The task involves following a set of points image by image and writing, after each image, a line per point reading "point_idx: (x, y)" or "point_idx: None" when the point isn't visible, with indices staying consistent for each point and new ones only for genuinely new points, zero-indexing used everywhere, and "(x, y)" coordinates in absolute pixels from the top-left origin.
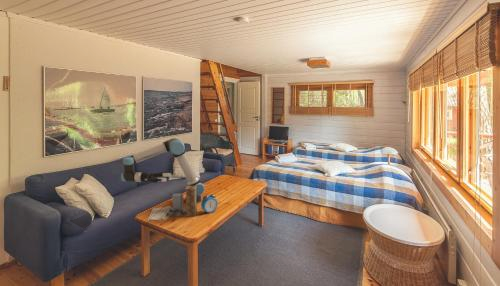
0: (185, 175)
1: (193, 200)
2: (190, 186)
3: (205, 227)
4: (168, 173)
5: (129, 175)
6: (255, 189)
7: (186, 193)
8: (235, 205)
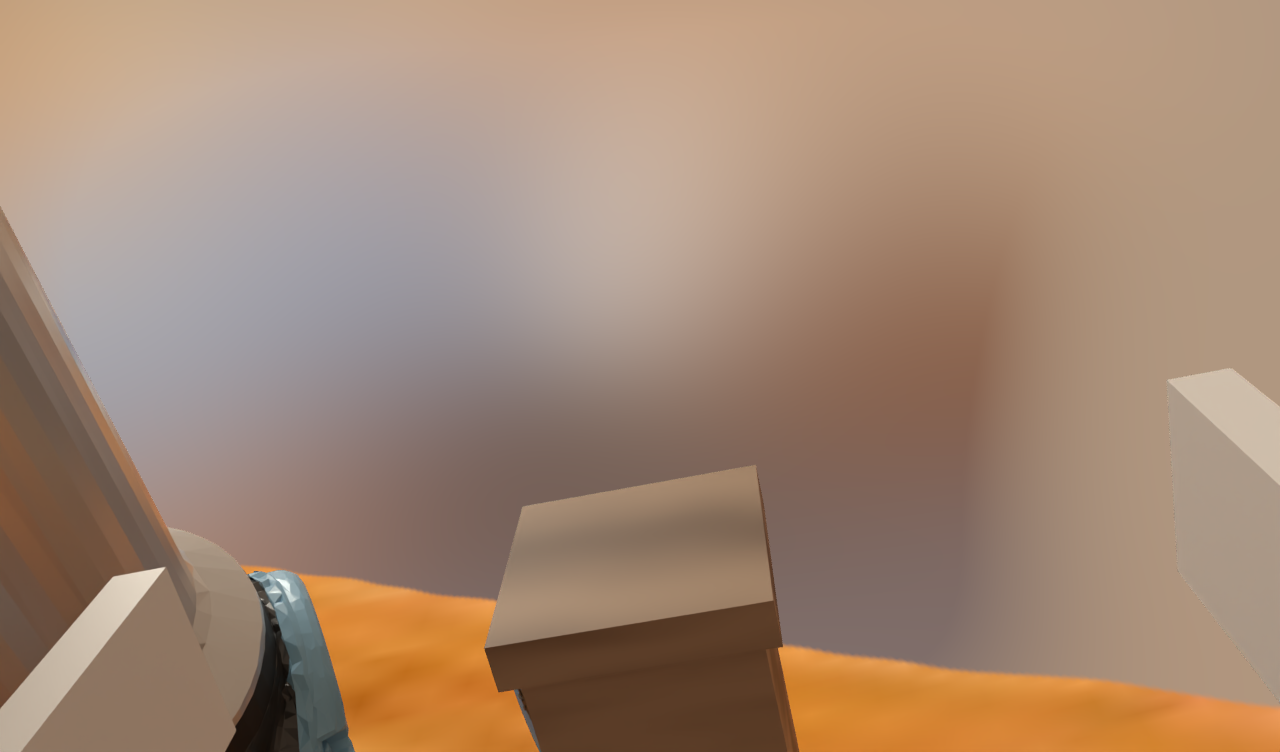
0: (8, 586)
1: (795, 739)
2: (567, 573)
3: (1230, 727)
4: (104, 648)
5: None
6: None
7: (778, 704)
8: (463, 614)
